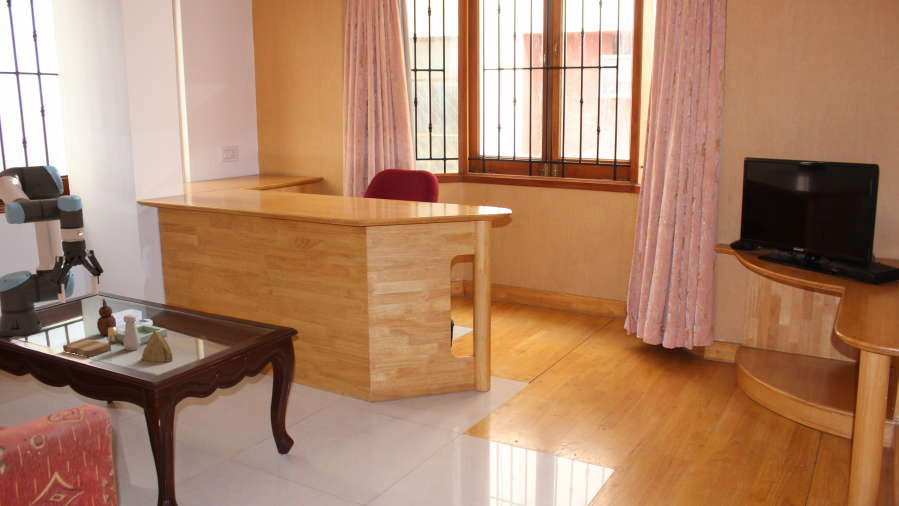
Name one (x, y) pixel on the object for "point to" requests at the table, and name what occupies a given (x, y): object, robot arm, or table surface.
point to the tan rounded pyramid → (157, 349)
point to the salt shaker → (131, 333)
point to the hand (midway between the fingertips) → (79, 297)
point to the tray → (143, 333)
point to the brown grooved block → (87, 347)
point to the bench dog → (112, 335)
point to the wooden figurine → (105, 319)
